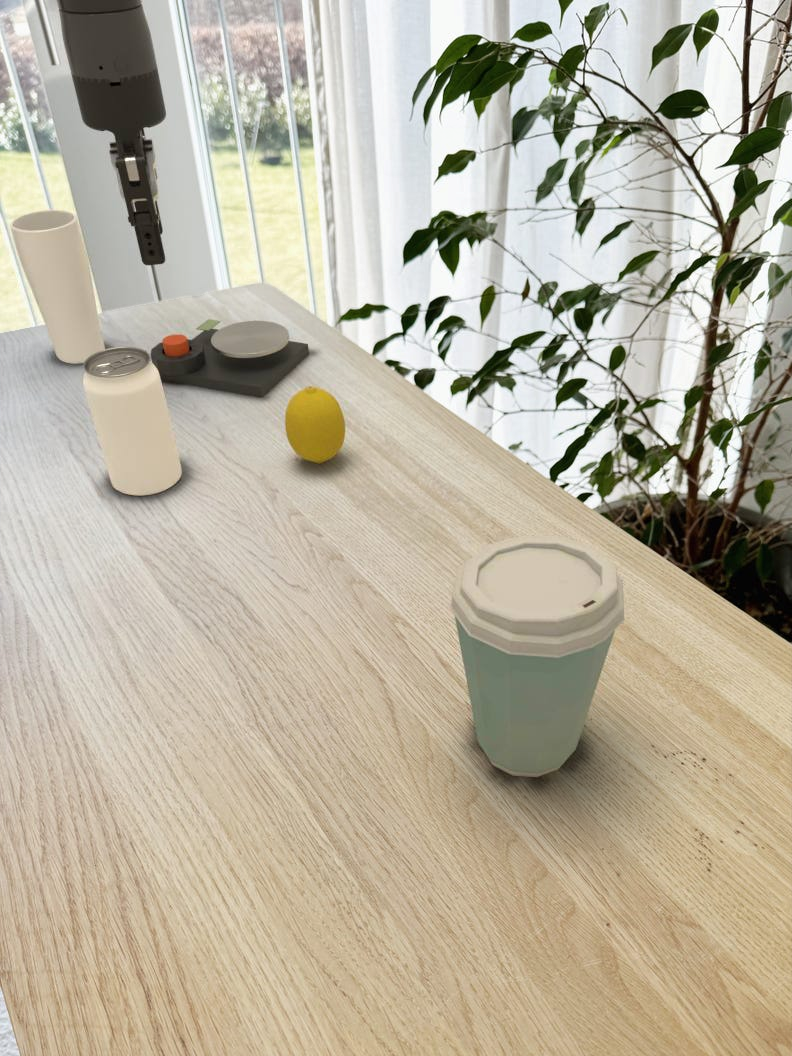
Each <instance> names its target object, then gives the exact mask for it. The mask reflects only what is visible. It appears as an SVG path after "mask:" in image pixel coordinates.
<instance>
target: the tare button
mask: <svg viewBox="0 0 792 1056" xmlns="http://www.w3.org/2000/svg"><path fill="white" fill-rule="evenodd" d="M187 339H188V337H187V336H186V335H184V334H177V333H176V334H175V333H174V334H170V335H166V336H165V337H163V338H162V340H161V341H162V342H161V343H163V347H164V351H165V355H166V356H171V357H176V356H182V355H185V354H188V353H189V352H190V350H189V345H188V340H187Z"/></svg>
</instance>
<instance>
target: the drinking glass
mask: <svg viewBox="0 0 792 1056" xmlns="http://www.w3.org/2000/svg"><path fill="white" fill-rule="evenodd" d="M77 217H78V216H76V214H75V213H73V212H71V211H68V210H63V209H44V210H43V209H42V210H36V211H31V212H27V213H24V214H21V215H18V216H17V217H15V218H13V220H11V222H10V224H9V226H10V230H11V235H12V238H13V242H14V246H15V251H16V253H17V256H18V259H19V262H20V265H21V268H22V270H23V272H24V276H25V277H26V280H27V283H28V285H29V287H30V290H31V292H32V295H33V297H34V300H35V303H36V305H37V307H38V310H39V313H40V315H41V317H42V320H43V323H44V325H45V327H46V329H47V333H48V336H49V338H50V339H51V340H50V341H51V344H52V346H53V350H54V354H55V355H56V357H57V358H58V360H60V362H63V363H66V364H72V365H76V364H77V365H78V364H84V362H85V360H86V359H87V358H88V357H90V356H91V355H93V354H95V353H97V352H99V351H102V350H106V345H105V342H104V337H103V334H102V330H101V324H100V319H99V313H98V308H97V302H96V297H95V291H94V285H93V279H92V273H91V268H90V262H89V256H88V252H87V248H86V245H85V240H84V236H83V233H82V230H81V227H80V224H79V220H78V218H77Z"/></svg>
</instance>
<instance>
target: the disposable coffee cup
mask: <svg viewBox="0 0 792 1056" xmlns="http://www.w3.org/2000/svg"><path fill="white" fill-rule="evenodd" d="M623 580H624V579H622V578H621V577H620V576H619V574H618V566H617V565H616V564H615V563H613V561H611V560H610V559H609V558H608V557H607V556H605V554H603V553H602V552H601V551H600V550H599V549H598V548H597V547H595V546H593V545H590V544H587V543H583V542H580V541H577V540H574V539H571V538H568V537H564V536H560V535H528V534H527V535H526V534H523V535H519V536H515V537H511V538H507V539H504V540H501V541H500V540H499V541H496V542H493V543H489V544H487V545H486V546H484V547H482V548H481V549H480V550H478V551H477V552H476V553H475V554H474V555H472V557H470V558H469V559H468V560H466V561H465V562H464V563H463V564H462V565H460V566H459V567H458V568H457V569H456V573H455V579H454V582H453V587H452V593H451V599H450V604H449V609H450V610H451V612H452V614H453V615H454V619H455V620H454V621H455V625H456V630H457V631H456V632H457V636H458V642H459V647H460V652H461V658H462V663H463V668H464V673H465V679H466V686H467V691H468V695H469V701H470V707H471V712H472V717H473V723H474V728H475V734H476V739H477V743H478V744H479V746H480V748H481V749H482V751H483V753H484V754H485V755H486V757H487V759H488V760H489V762H490V764H491V765H492V766H493V767H495V768H497V769H499V770H501V771H503V772H504V773H507V774H509V775H511V776H514V777H515V776H516V777H529V778H539V777H541V776H543V775H547V774H549V773H552V772H555V771H558V770H559V769H560V768H561V767H562V766H563V765H564V764H565V762H567V760H568V759H569V758H570V757H571V755H572V754H573V753H574V752H575V751H576V750H577V747H578V744H579V741H580V738H581V735H582V733H583V732H582V731H583V729H584V726H585V723H586V719H587V717H588V713H589V712H590V711H589V710H590V708H591V705H592V702H593V698H594V695H595V692H596V690H597V687H598V684H599V681H600V677H601V674H602V671H603V668H604V666H605V662H606V659H607V656H608V653H609V650H610V647H611V644H612V641H613V638H614V636H615V635H614V634H615V632H616V630H617V629H618V628H619V627H620V626H621V624H622V623H623V622H624V621H625V598H624V597H625V596H624V595H625V594H624V593H625V592H624V581H623Z"/></svg>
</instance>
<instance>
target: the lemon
mask: <svg viewBox="0 0 792 1056" xmlns="http://www.w3.org/2000/svg"><path fill="white" fill-rule="evenodd" d="M344 416H345V415H344V414H343V410H342V408H341V406H340V404H339V401H338V400H337V399H336V398H335V396H333V394H332V393H330V392H328V391H327V390H325V389H322V388H319V387H315V386H313V385H309V386H307V387H306V388H303V389H301V390H300V391H298V392H295V394H293V396H292V397H291V398H290V400H289V402H288V403H287V406H286V410H285V416H284V426H285V427H284V428H285V435H286V438H287V442H288V443H289V445H290V447H291V449H292V450H293V451H294V452H295V454H296V455H298V456H299V457H300V458H302V459H303V460H306V461H309V462H312V463H313V462H314V463H316V464H318V465H321V464H323V463H324V462H327V461H329V460H330V459H332V458H334V457H335V456H336V455H337V454H338V453H339V452H340V450H341V449H342V447H343V445H344V442H345V438H346V421H345V417H344Z"/></svg>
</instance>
